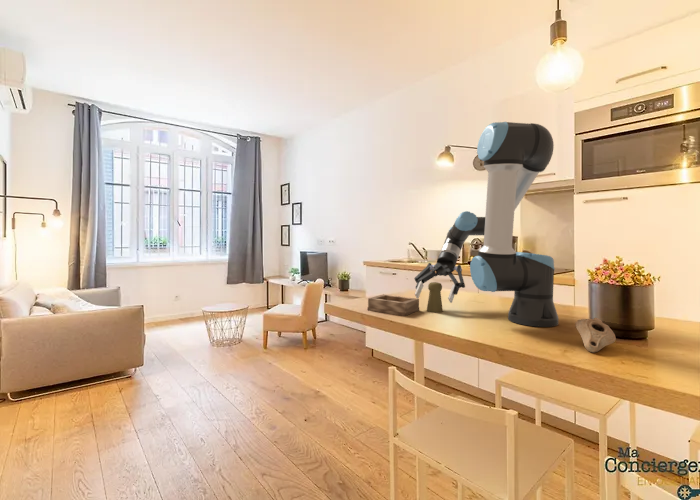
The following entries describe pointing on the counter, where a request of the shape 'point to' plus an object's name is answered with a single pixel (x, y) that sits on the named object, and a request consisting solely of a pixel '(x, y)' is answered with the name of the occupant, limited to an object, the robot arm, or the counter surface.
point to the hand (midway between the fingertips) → (432, 298)
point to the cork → (434, 297)
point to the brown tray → (393, 304)
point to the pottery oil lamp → (595, 334)
